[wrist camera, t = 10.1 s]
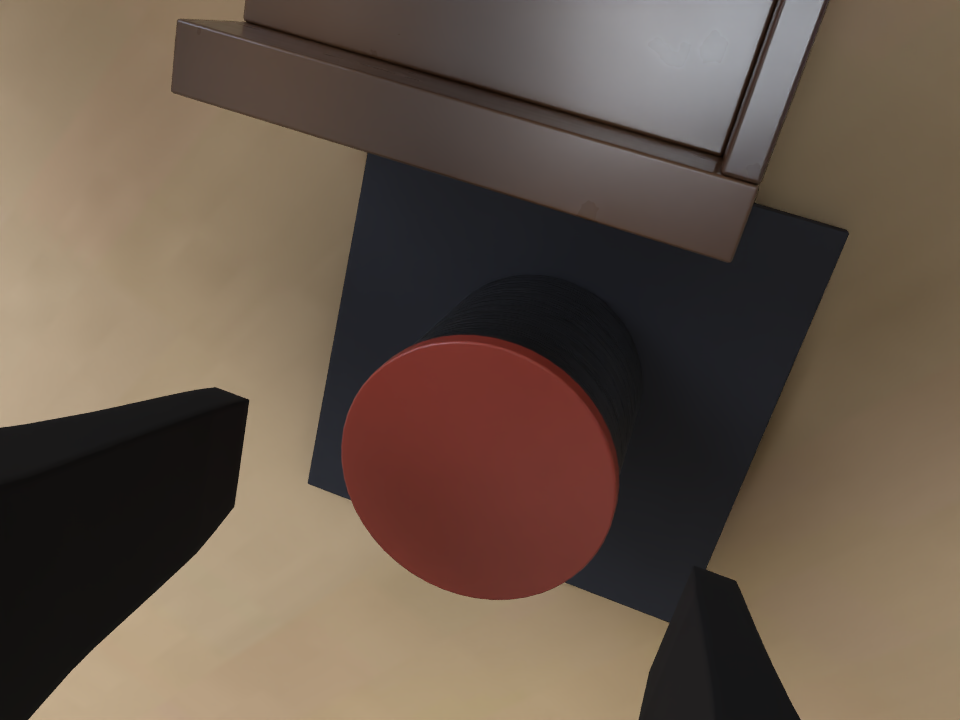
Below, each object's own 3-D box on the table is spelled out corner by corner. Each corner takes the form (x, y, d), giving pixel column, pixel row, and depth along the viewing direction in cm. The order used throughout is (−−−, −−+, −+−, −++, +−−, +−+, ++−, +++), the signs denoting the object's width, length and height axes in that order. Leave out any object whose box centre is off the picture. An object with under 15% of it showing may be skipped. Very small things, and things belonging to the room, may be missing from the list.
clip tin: (678, 310, 18) (656, 400, 13) (608, 506, 20) (569, 640, 15) (457, 240, 19) (367, 301, 14) (412, 434, 21) (320, 542, 16)
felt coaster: (848, 230, 17) (849, 233, 16) (681, 620, 21) (680, 627, 20) (382, 94, 18) (377, 94, 18) (312, 478, 22) (307, 483, 22)
